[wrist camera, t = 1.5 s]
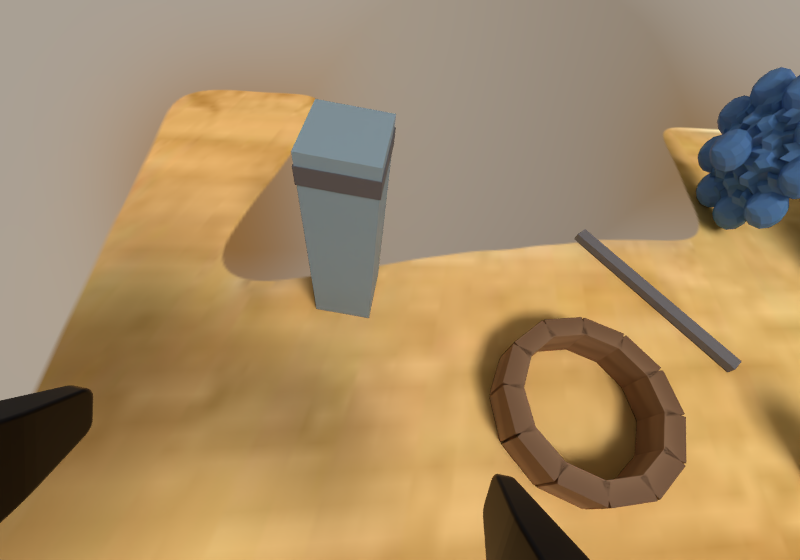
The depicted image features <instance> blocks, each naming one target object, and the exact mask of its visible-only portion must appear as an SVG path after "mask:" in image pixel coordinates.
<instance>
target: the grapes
mask: <svg viewBox="0 0 800 560" xmlns="http://www.w3.org/2000/svg"><path fill="white" fill-rule="evenodd" d="M717 123H718V129H719V130H720V132H721V133H722V135H720V136H716V137H713V138H712V139H710V140H709V141H707V142H706V143H705V144H704V145H703V146H702V148H701V149H700V151H699V154H698V163H699V165H700V167H701V168H702V170H704V171H706V172H709V174H708V175H707V176H705V177H704V178H703V179H702V180H701V181H700V182H699V184H698V186H697V189H696V196H697V199H698V201H699V202H700V204H702V205H704V206H706V207H714V209H713V212H712V215H713V220H714V221H715V223H716V224H717V226H719V227H721V228H724V229H726V230H727V229H736V228H737V227H739V226H741V225H743V224H744V223H745V222H746V221H747V223H748V224H749V225H752V226H754V227H756V228H759V229H760V228H769V227H771V226H773V225H775V224H777V223H778V222H780V221H781V220H782V218H783V217H784V216H785V215H786V213H787V211H788V208H789V198H791V199H799V198H800V75H799V76H798V77H796V76H795V75H794V73H793V72H792V71H791V70H790V69H786V68H778V69H775V70H771V71H769V72H768V73H767V74H765V75H764V76H763V77H761V78H760V79H759V80H758V81H757V83H756V84H755V85H754V86H753V88H752V91H751V94H750V97H748V96H741V97H738V98H735V99H733V100H732V101H731V102H729V103H728V104H727V105H726V106H725V107H724V108H723V109H722V111H721V112H720V114H719V117H718V121H717Z"/></svg>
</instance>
